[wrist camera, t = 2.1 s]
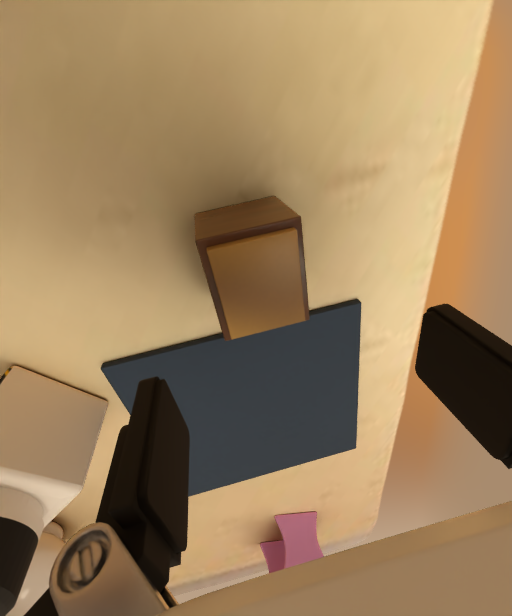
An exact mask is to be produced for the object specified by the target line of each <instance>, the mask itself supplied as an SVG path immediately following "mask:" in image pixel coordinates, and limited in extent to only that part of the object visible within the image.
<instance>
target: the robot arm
mask: <svg viewBox="0 0 512 616" xmlns="http://www.w3.org/2000/svg"><path fill="white" fill-rule="evenodd" d="M415 370H416V373H417V375H418V377H419V378H420V379H421V380H422V381H423V382H424V383H425V384H426V385H427V387H428V388H429V389H430V390H431V391H432V392H433V393H434V394H435V395H436V396H437V397H438V398H439V399H440V401H441V402H442V403H443V404H444V405H445V406H446V407H447V408H448V409H449V410H450V411H451V412H452V414H453V415H454V416H455V417H456V418H457V419H458V420H459V421H460V422H461V423H462V424H463V425H464V426H465V428H466V429H467V430H468V431H469V432H470V433H471V434H472V435H473V436H474V437H475V438H476V439H477V440H478V442H479V443H480V444H481V445H482V446H483V447H484V448H485V449H486V450H487V451H488V452H489V453H490V454H491V455H492V456H493V457H494V458H496V459H498V460H501V461H502V462H503V463H504V464H505V465H506V466H507V468H508V469H510V468H512V346H511V345H510V344H508V343H507V342H505V341H504V340H502V339H501V338H499V337H498V336H496V335H494V334H493V333H491V332H490V331H488V330H487V329H485V328H484V327H482V326H481V325H479V324H478V323H476V322H475V321H473V320H472V319H470V318H469V317H467V316H466V315H464V314H463V313H461V312H460V311H458V310H457V309H455V308H454V307H452V306H451V305H449V304H442V305H438V306H434V307H430V308H429V309H428V310H427V312H426V313H425V314H424V315H423V320H422V327H421V334H420V339H419V346H418V353H417V359H416V365H415ZM189 448H190V435H189V430H188V427H187V425H186V423H185V420H184V418H183V416H182V414H181V412H180V410H179V408H178V406H177V403H176V401H175V399H174V397H173V395H172V393H171V391H170V389H169V387H168V384H167V382H166V380H165V379H162V380H160V379H159V377H158V376H156V377H152V378H148V379H144V380H140V381H139V383H138V387H137V391H136V396H135V400H134V404H133V408H132V412H131V416H130V421H129V425H125V426H123V427H122V428H121V430H120V433H119V436H118V440H117V443H116V447H115V451H114V455H113V458H112V462H111V466H110V470H109V474H108V477H107V481H106V485H105V489H104V492H103V496H102V500H101V504H100V508H99V511H98V515H97V519H96V523H93V524H90V525H88V526H86V527H84V528H82V529H81V530H79V531H78V532H77V533H76V534H74V535H73V536H72V537H71V538H70V539H69V540H68V542H67V543H66V544H65V545H64V546H63V547H62V549H61V551H60V552H59V554H58V556H57V557H56V559H55V561H54V564H53V566H52V569H51V572H50V578H49V588H48V589H47V590H46V591H45V593H44V594H43V595H42V596H41V597H40V598H39V599H38V600H37V601H36V603H35V604H34V605H33V606H32V607H31V608H30V609H29V610H28V611H27V613H26V614H25V615H24V616H512V501H509V502H506V503H503V504H499V505H496V506H492V507H489V508H485V509H482V510H479V511H475V512H472V513H468V514H465V515H462V516H458V517H455V518H452V519H448V520H445V521H441V522H438V523H435V524H431V525H428V526H425V527H421V528H418V529H415V530H411V531H408V532H405V533H401V534H398V535H395V536H391V537H388V538H384V539H381V540H378V541H374V542H371V543H368V544H365V545H361V546H358V547H354V548H351V549H348V550H344V551H342V552H338V553H335V554H332V555H328V556H325V557H321V558H318V559H315V560H312V561H308V562H305V563H302V564H298V565H295V566H292V567H289V568H285V569H282V570H279V571H275V572H272V573H269V574H266V575H263V576H259V577H256V578H253V579H250V580H247V581H244V582H241V583H238V584H235V585H232V586H229V587H226V588H223V589H220V590H217V591H214V592H211V593H207V594H205V595H202V596H200V597H197V598H194V599H192V600H189V601H187V602H184V603H182V604H178V602H177V601H176V599H175V598H174V596H173V595H172V594H171V592H170V591H169V589H168V588H167V586H166V584H167V583H168V581H169V569H170V567H174V566H177V565H181V552H182V551H185V550H186V547H187V528H188V488H189Z"/></svg>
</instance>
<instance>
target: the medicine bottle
mask: <svg viewBox="0 0 512 616" xmlns="http://www.w3.org/2000/svg"><path fill="white" fill-rule="evenodd" d="M107 406H108V402H107V401H105V400H103V399H101V398H98V397H95V396H93V395H90V394H88V393H85V392H83V391H80V390H77V389H75V388H72V387H70V386H67V385H65V384H62V383H59V382H57V381H54V380H52V379H49V378H47V377H44V376H42V375H39V374H36V373H34V372H31V371H29V370H26V369H24V368H21V367H18V366H11V367H10V368H8V369H7V371H6V372H5V373H4V375H3V376H2V377H1V379H0V616H6V615H7V614H8V613H9V612H10V611H11V610H12V609H13V607H14V606H15V604H16V602H17V599H18V596H19V593H20V591H21V588H22V585H23V583H24V580H25V577H26V575H27V572H28V569H29V566H30V564H31V561H32V558H33V556H34V553H35V550H36V548H37V545H38V542H39V539H40V537H41V534H42V531H43V528H44V527H45V526H46V525H47V524H48V523H49V522H50V521H52V520H53V519H54V518H55V517H56V516H57V515H58V514H59V513H60V512H61V511H62V510H63V509H64V508H65V507H66V506H67V505H68V504H69V503H70V502H71V501H72V500H73V499H74V498H75V497H76V496H77V495H78V494H79V493H80V492H81V491H82V489H83V486H84V483H85V479H86V476H87V473H88V469H89V466H90V463H91V459H92V456H93V453H94V450H95V446H96V443H97V440H98V436H99V433H100V430H101V426H102V423H103V420H104V416H105V413H106V410H107Z"/></svg>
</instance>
